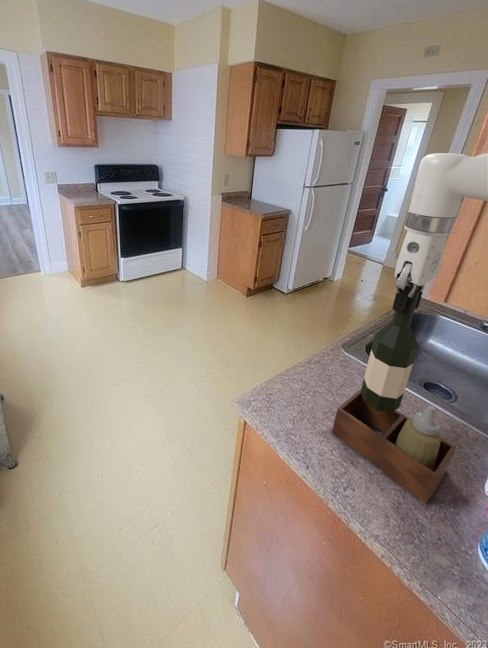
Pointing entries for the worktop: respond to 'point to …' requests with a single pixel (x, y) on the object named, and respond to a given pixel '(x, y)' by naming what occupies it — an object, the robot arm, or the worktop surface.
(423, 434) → the squeeze bottle
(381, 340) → the wine bottle
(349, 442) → the bottle rack
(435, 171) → the robot arm
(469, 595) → the worktop surface
